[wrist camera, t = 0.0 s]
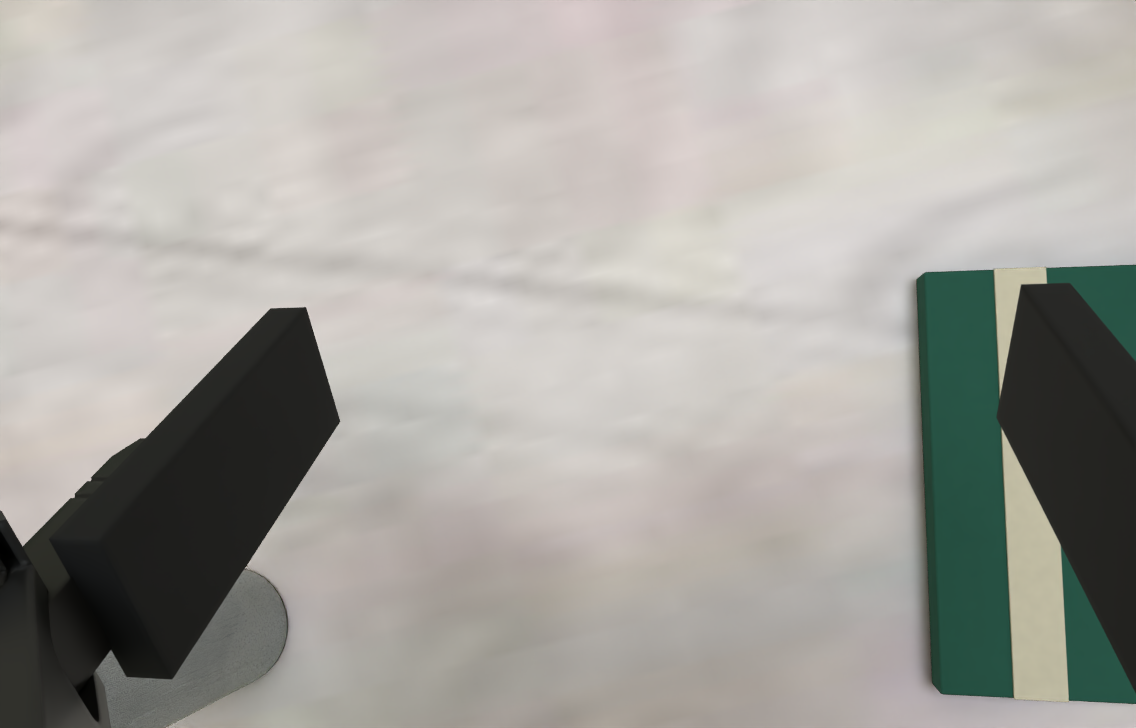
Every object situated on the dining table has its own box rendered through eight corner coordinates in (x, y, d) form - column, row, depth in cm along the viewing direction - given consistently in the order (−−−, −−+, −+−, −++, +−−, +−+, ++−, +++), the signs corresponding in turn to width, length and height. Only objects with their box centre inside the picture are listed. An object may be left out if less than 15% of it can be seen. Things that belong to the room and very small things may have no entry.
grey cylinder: (164, 630, 34) (-75, 714, 24) (231, 543, 34) (19, 589, 23) (241, 708, 33) (29, 829, 23) (311, 619, 33) (127, 701, 23)
